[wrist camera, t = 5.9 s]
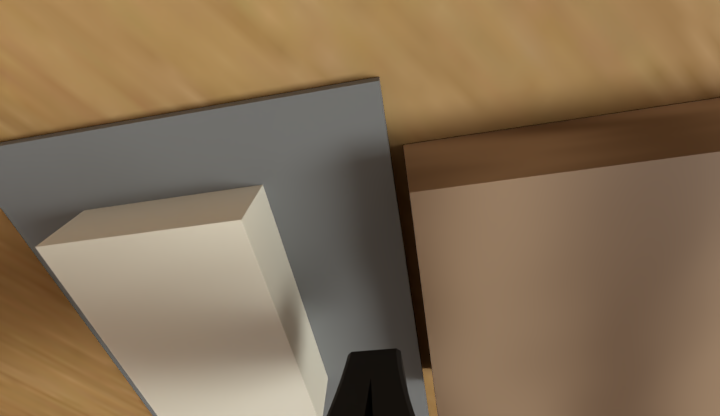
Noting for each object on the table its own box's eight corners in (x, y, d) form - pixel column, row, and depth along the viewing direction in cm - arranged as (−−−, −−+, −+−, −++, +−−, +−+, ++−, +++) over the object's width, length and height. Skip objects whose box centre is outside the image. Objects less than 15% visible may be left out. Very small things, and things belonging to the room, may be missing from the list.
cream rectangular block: (321, 426, 14) (328, 378, 16) (241, 219, 10) (262, 184, 11) (171, 434, 15) (193, 387, 17) (34, 247, 10) (84, 210, 12)
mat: (182, 439, 20) (177, 449, 19) (-25, 146, 12) (-40, 152, 11) (430, 426, 18) (431, 436, 17) (379, 76, 10) (378, 80, 10)
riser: (431, 369, 16) (441, 443, 13) (403, 144, 11) (409, 192, 9) (694, 350, 15) (762, 428, 12) (791, 86, 10) (939, 122, 7)
